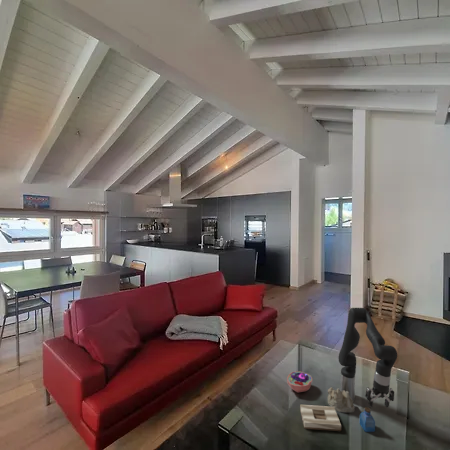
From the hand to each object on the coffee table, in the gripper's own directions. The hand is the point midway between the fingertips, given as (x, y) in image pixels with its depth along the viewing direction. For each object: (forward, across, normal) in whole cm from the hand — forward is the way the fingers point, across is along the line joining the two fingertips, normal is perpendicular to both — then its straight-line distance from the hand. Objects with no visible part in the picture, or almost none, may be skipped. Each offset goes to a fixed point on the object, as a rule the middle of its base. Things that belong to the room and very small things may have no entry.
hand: (378, 405), depth 146 cm
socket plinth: (+30, +23, -20) cm, 43 cm away
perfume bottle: (+29, -4, -14) cm, 33 cm away
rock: (+32, +4, -34) cm, 46 cm away
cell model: (+34, +28, -49) cm, 66 cm away
